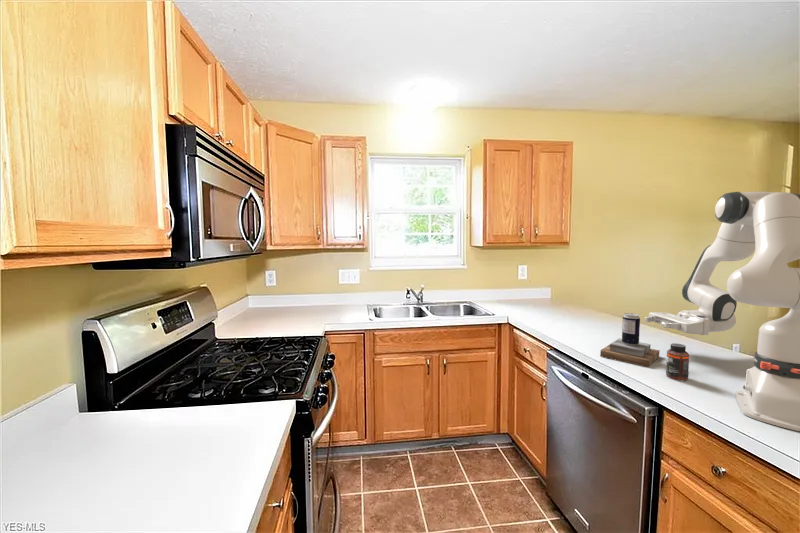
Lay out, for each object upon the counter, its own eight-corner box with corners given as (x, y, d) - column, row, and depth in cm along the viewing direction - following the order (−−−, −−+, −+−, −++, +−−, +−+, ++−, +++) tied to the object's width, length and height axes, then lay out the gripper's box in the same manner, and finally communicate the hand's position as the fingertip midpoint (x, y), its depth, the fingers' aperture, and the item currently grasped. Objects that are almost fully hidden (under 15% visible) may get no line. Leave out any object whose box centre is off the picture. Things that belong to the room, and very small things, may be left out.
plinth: (648, 367, 127) (648, 353, 127) (600, 356, 139) (600, 344, 139) (659, 356, 138) (659, 344, 137) (613, 347, 150) (614, 335, 149)
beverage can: (641, 346, 135) (643, 316, 134) (625, 346, 136) (626, 315, 135) (634, 342, 140) (636, 312, 139) (619, 341, 141) (620, 312, 140)
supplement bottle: (689, 377, 118) (691, 344, 117) (686, 382, 114) (688, 349, 113) (667, 372, 122) (668, 341, 121) (664, 377, 118) (665, 345, 117)
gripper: (668, 308, 148) (636, 308, 147) (712, 319, 128) (676, 320, 127) (667, 322, 148) (635, 323, 148) (711, 336, 128) (675, 337, 128)
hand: (654, 322), depth 137 cm, fingers open, 8 cm apart
